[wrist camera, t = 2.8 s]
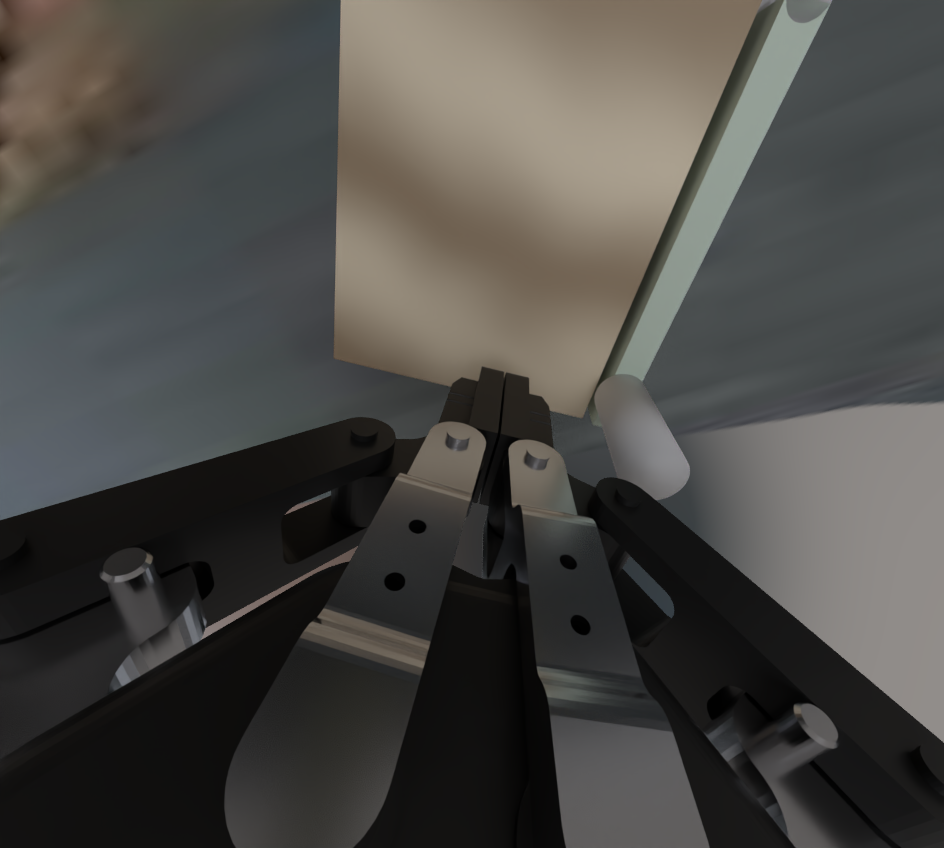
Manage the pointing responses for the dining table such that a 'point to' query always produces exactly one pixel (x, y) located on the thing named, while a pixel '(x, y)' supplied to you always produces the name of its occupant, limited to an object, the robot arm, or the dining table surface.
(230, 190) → the dining table surface
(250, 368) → the dining table surface
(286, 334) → the dining table surface
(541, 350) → the birch box
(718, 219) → the grey-green rectangular panel
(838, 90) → the dining table surface
